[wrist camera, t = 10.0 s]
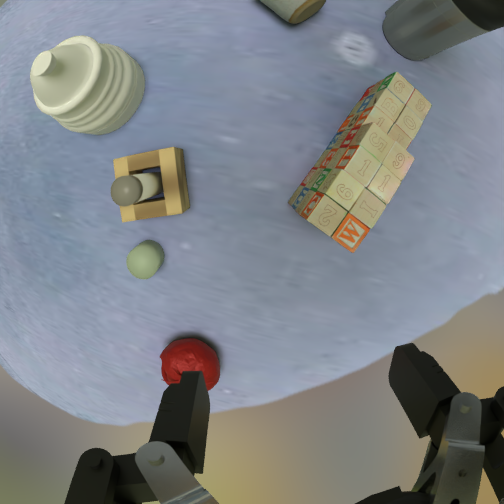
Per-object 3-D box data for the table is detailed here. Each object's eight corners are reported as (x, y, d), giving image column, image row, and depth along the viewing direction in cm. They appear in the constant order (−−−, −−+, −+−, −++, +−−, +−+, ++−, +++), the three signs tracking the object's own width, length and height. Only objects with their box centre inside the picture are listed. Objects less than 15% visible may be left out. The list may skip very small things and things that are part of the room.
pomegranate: (202, 321, 43) (194, 356, 34) (232, 365, 46) (231, 403, 37) (152, 342, 44) (137, 377, 35) (184, 383, 47) (176, 419, 38)
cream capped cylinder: (146, 173, 36) (108, 179, 25) (167, 170, 36) (135, 173, 25) (149, 195, 37) (113, 208, 26) (170, 191, 37) (139, 203, 26)
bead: (133, 241, 39) (123, 249, 35) (161, 238, 39) (153, 246, 35) (139, 270, 40) (130, 280, 36) (167, 267, 40) (159, 277, 36)
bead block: (128, 159, 35) (113, 159, 31) (182, 149, 35) (173, 146, 31) (136, 215, 38) (122, 222, 33) (190, 207, 38) (182, 213, 33)
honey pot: (159, 62, 31) (107, 4, 14) (124, 144, 35) (47, 136, 18) (91, 50, 30) (23, 10, 12) (60, 125, 33) (-22, 118, 16)
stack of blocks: (366, 86, 33) (410, 63, 22) (398, 114, 34) (448, 102, 23) (286, 203, 38) (305, 220, 26) (322, 228, 39) (353, 255, 28)
